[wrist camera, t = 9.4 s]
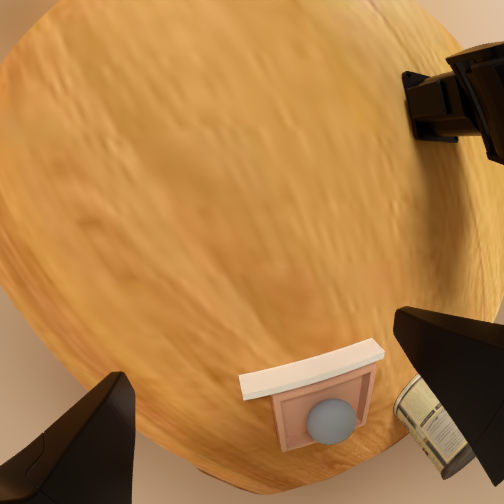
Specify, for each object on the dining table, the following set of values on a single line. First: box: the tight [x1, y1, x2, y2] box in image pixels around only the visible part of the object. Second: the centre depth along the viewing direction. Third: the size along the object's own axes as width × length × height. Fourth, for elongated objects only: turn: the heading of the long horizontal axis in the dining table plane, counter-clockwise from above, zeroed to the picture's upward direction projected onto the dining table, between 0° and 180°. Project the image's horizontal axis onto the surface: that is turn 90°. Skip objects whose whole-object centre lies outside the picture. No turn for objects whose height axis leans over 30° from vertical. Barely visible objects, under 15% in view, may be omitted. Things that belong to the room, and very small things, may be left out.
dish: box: [270, 362, 377, 452], centre depth 24 cm, size 10×10×2 cm
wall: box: [239, 338, 385, 400], centre depth 22 cm, size 13×1×2 cm, turn 99°
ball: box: [306, 398, 356, 445], centre depth 22 cm, size 5×5×5 cm
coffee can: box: [394, 374, 476, 480], centre depth 22 cm, size 10×10×14 cm
